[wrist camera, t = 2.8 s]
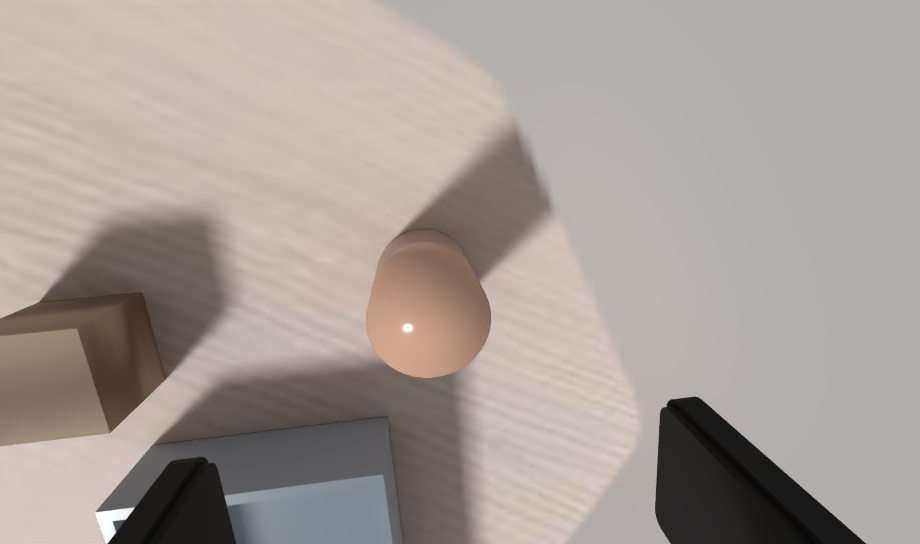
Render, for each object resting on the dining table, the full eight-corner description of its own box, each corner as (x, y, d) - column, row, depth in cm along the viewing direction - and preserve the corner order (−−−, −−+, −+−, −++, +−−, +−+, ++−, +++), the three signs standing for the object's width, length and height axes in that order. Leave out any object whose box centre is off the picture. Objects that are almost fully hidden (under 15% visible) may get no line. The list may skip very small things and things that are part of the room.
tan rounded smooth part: (371, 233, 24) (358, 267, 18) (465, 225, 25) (487, 254, 18) (382, 322, 26) (374, 384, 19) (472, 312, 26) (494, 370, 20)
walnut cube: (40, 302, 24) (-54, 341, 19) (142, 292, 24) (76, 328, 19) (69, 389, 25) (-12, 447, 20) (166, 378, 25) (109, 432, 21)
